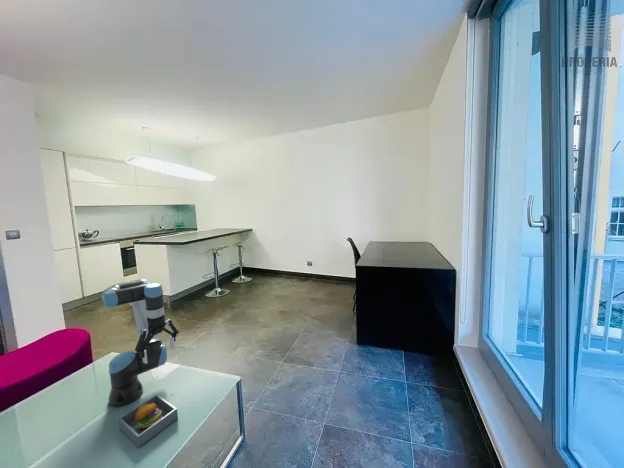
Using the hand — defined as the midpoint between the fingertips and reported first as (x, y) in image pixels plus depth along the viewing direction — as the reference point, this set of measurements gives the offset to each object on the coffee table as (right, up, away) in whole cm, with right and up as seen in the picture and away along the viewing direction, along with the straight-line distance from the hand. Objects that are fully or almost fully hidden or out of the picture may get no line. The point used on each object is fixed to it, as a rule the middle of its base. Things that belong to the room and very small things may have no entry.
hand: (159, 355), depth 132 cm
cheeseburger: (-1, -29, -7) cm, 30 cm away
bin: (-1, -30, -6) cm, 31 cm away
